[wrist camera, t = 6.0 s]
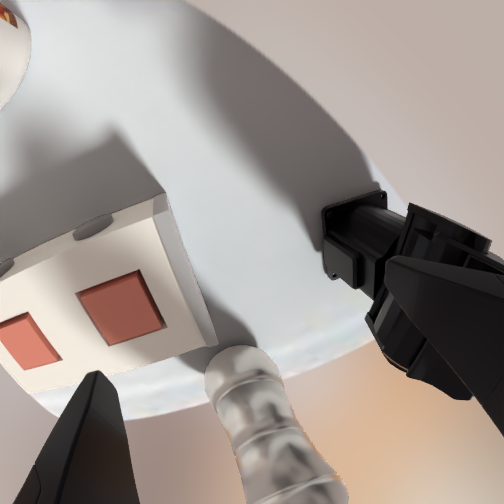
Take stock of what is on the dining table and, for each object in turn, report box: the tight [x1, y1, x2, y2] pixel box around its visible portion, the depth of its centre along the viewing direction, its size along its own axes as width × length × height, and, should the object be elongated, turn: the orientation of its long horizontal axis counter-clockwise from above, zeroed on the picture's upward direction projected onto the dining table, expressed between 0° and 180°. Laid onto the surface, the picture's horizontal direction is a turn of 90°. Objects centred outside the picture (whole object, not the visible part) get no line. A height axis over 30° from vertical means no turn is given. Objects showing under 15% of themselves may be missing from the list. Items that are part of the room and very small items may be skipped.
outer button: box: [0, 312, 59, 370], centre depth 14 cm, size 4×4×2 cm
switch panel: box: [0, 192, 219, 394], centre depth 15 cm, size 17×9×4 cm, turn 101°
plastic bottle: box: [204, 345, 349, 504], centre depth 16 cm, size 6×7×20 cm
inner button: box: [81, 269, 162, 344], centre depth 15 cm, size 4×4×2 cm
